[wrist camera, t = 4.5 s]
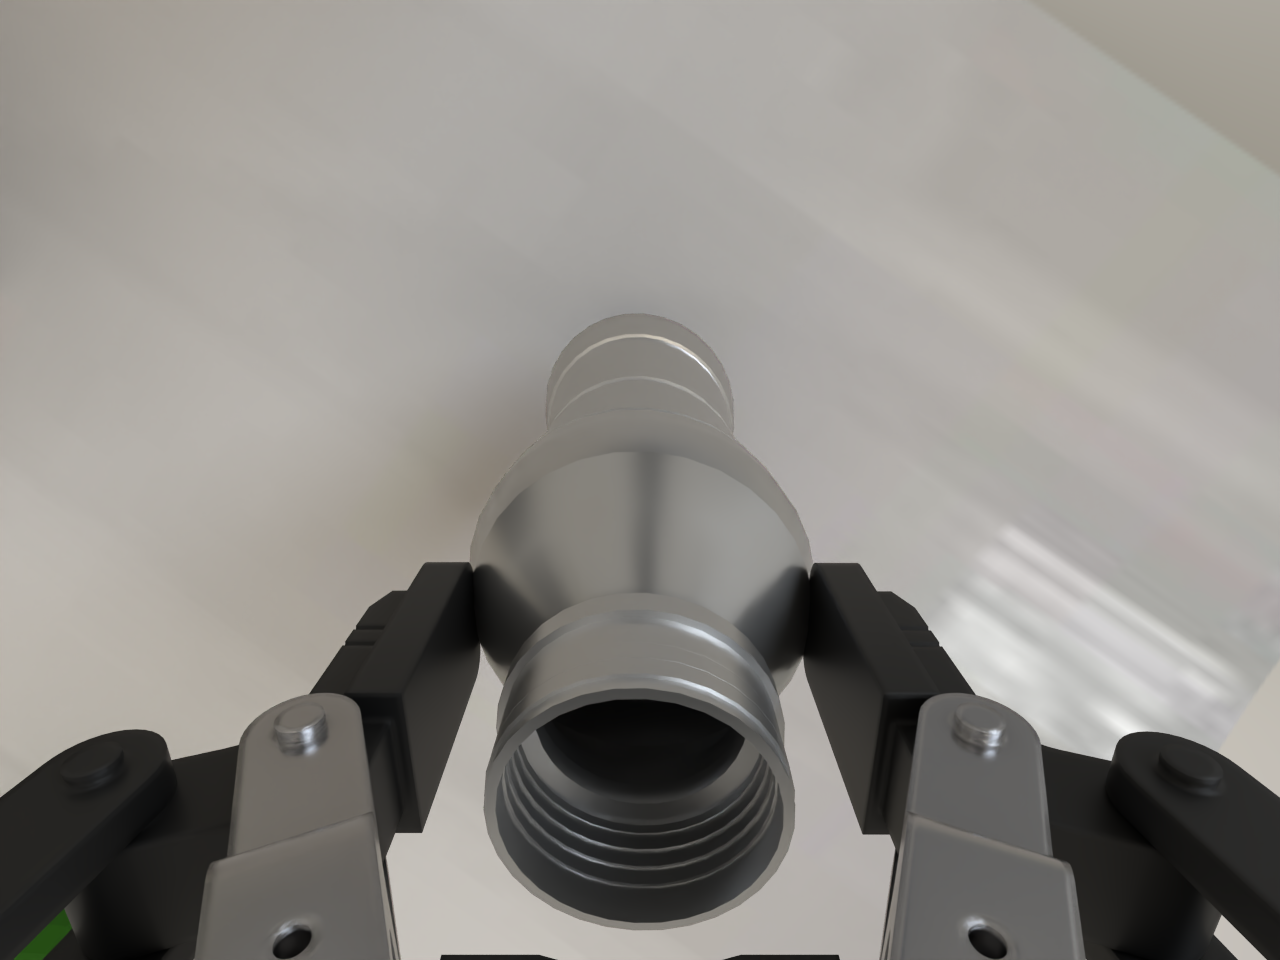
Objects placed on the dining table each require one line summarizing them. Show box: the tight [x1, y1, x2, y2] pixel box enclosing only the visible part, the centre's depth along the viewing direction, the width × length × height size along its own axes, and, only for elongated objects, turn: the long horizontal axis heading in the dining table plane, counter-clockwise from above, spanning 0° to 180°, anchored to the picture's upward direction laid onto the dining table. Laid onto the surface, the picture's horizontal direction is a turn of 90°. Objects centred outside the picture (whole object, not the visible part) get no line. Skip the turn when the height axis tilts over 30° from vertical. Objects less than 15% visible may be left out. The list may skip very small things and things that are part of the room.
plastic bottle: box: [470, 314, 813, 930], centre depth 17 cm, size 6×7×20 cm
